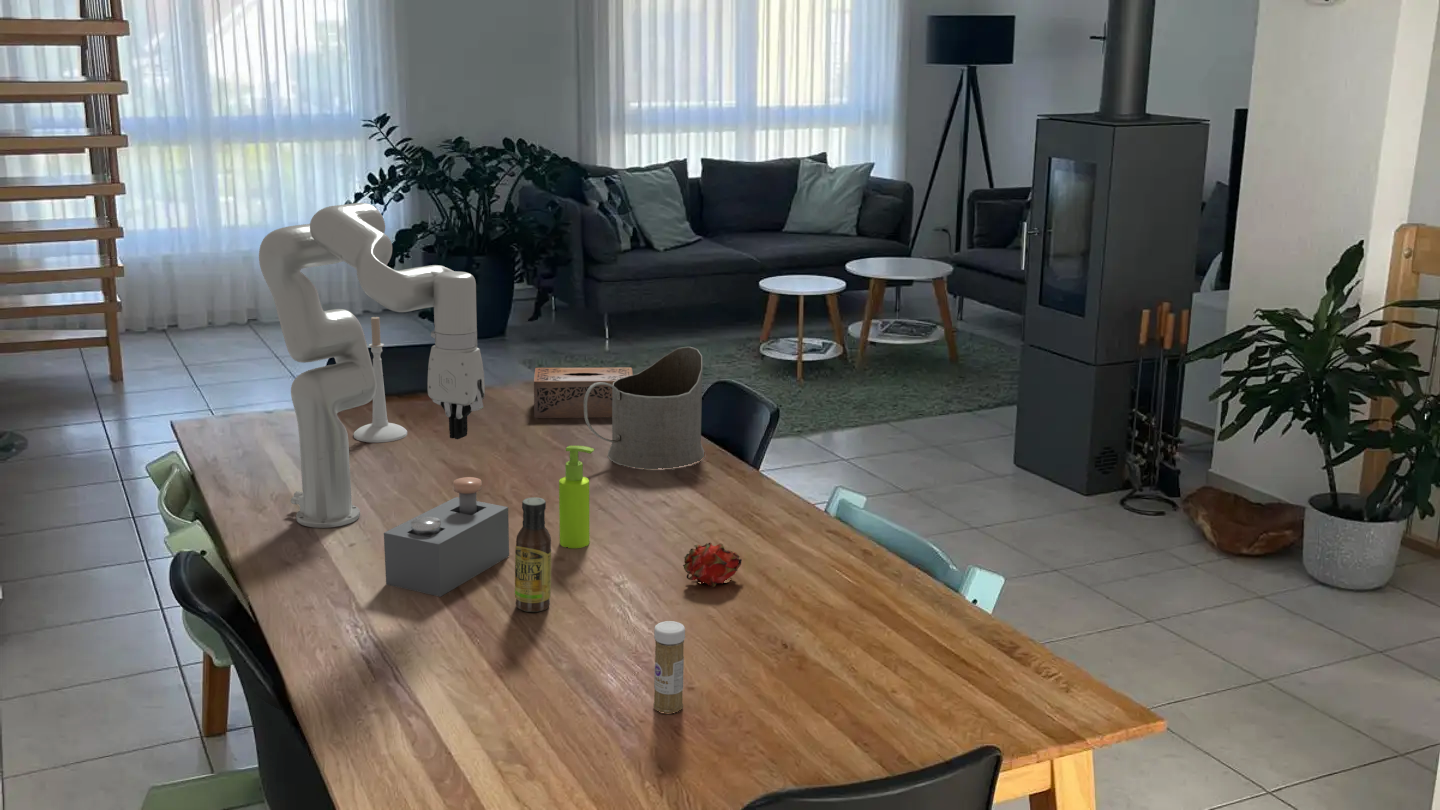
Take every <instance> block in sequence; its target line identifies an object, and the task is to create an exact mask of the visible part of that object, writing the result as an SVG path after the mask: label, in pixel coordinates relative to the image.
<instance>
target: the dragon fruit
mask: <svg viewBox="0 0 1440 810" xmlns="http://www.w3.org/2000/svg"><path fill="white" fill-rule="evenodd" d="M693 547H695V548H690V549H689V551H688V553H686V554H685V556H684V557H683V558H684V560H683V561H684V564H683V565H682V566H683V570H684V572H686V573H687V574H686V579H687V580H689V581H696V580H697V581H696V582H697V583H698V582H701V584H702V585H704V584H707V585H708V586H709V585H710V586H709V587H712V588H715V587H716V585H717V584H723V583H724V581H725V580H727V579H731V577H733V576H734V575H735V574H736V573H737V572H738V569H739V568H740V567H741V565H742V558H740V556H739V554H738V553H737V552H734V551H733V550H727V549H726V548H725V546H724V544H723V543H718V544H716V545H713V543H712V542H708V543H705V544H704V545H701V544H694V546H693ZM689 575H691V576H689ZM703 582H705V583H703Z"/></svg>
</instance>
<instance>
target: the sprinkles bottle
mask: <svg viewBox="0 0 1440 810" xmlns="http://www.w3.org/2000/svg"><path fill="white" fill-rule="evenodd" d="M653 637H654V641H655V649H654V650H655V653H654V654H655V656H654V678H653V679H654V680H653V681H654V683H653V684H654V695H653V696H654V699H653V700H654V702H653V709H654V708H655V709H656V710H657V711H660V712H664V713H673V712H677V711H679V710H681V709H682V710H683V708H684V704H683V696H684V695H683V692H684V691H683V690H684V667H685V666H684V663H685V661H684V660H685V659H684V658H685V657H684V650H685V649H684V643H685V639H686V628H685V626H684V624H683V623H680V622H679V621H673V620H666V621H661V622H659V623H657V624H655V626H654V635H653ZM655 709H654V710H655ZM656 710H655V711H656ZM682 710H681V711H682ZM657 711H656V712H657ZM679 712H680V711H679ZM677 713H678V712H677Z"/></svg>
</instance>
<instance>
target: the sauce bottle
mask: <svg viewBox="0 0 1440 810" xmlns="http://www.w3.org/2000/svg"><path fill="white" fill-rule="evenodd" d="M521 503H522V504H521V505H522V506H521V509H522V513H523V514H522V518H523V519H522V522H521V523H522V527H521V528H520V530H519V531H518V532H517V535H516V541H515V551H514V552H515V556H514V559H515V560H514V597H515V607H516V608H518V609H519V610H521V611H523V612H528V613H539V612H543V611H545V610H548V608H549V607H550V605H551V600H550V599H551V595H552V593H551V592H552V591H551V590H552V588H551V587H552V586H551V583H552V538H551V534H550V532H549V530H548V529H547V527H546V522H545V521H546V520H545V519H546V518H545V517H546V516H545V513H546V512H545V511H546V509H547V508H546V507H547V505H546V504H547V502H546V500H545V499H544V498H541V497H534V496H532V497H526V498H525V499H523V500H522V502H521Z"/></svg>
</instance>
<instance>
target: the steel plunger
mask: <svg viewBox="0 0 1440 810" xmlns="http://www.w3.org/2000/svg"><path fill="white" fill-rule="evenodd" d="M411 529H412V532H413V533H415V534H417V535H420V536H425V537H431V536H433V535H435V533H437V532H439V531H440V530H441V521H440V519H438V518H435V517H420V518H416V519H414V520H412V522H411Z"/></svg>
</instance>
